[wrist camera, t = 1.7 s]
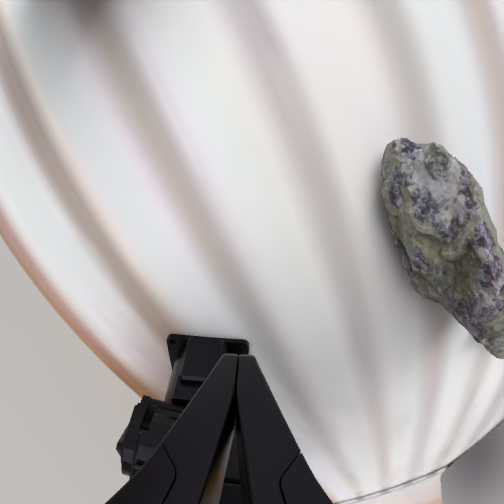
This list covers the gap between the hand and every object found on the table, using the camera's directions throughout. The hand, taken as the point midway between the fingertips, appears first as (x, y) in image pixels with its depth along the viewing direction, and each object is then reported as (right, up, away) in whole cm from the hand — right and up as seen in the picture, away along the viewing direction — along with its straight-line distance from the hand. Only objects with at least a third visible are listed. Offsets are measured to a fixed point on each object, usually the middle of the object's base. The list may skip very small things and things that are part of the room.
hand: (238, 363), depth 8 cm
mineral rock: (+14, +5, +11) cm, 18 cm away
